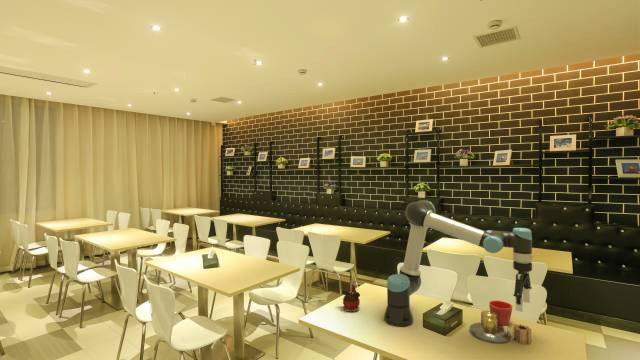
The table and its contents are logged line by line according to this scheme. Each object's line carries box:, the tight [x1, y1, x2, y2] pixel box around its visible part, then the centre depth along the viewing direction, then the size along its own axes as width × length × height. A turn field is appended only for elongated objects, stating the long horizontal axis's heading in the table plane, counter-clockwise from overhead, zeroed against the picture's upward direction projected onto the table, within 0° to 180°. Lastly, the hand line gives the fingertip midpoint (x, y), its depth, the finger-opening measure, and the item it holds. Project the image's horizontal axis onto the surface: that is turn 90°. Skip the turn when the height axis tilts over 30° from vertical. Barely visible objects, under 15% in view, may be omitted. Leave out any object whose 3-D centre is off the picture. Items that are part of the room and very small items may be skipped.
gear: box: [512, 323, 532, 345], centre depth 155 cm, size 7×7×6 cm
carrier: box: [469, 309, 512, 344], centre depth 163 cm, size 18×20×8 cm
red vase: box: [342, 278, 361, 312], centre depth 193 cm, size 11×9×18 cm
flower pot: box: [488, 300, 513, 327], centre depth 174 cm, size 11×11×10 cm
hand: (522, 306), depth 155 cm, fingers open, 13 cm apart
